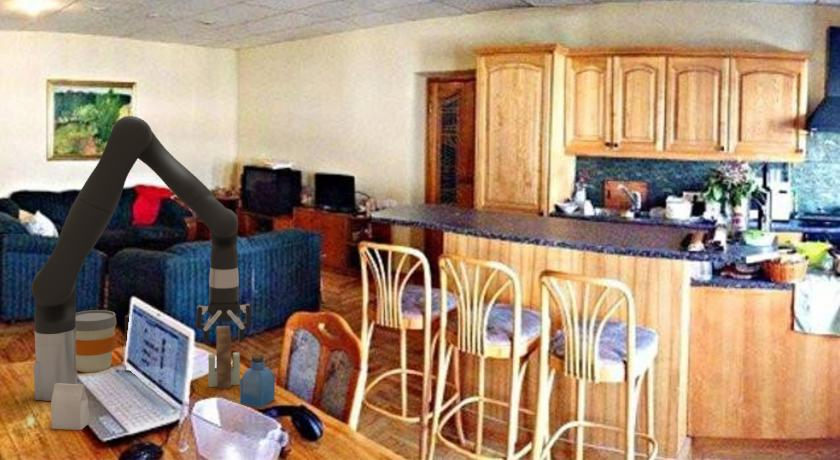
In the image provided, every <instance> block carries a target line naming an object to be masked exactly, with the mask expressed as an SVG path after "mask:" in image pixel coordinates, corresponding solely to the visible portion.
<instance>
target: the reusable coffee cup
mask: <svg viewBox="0 0 840 460" xmlns="http://www.w3.org/2000/svg"><path fill="white" fill-rule="evenodd" d="M117 324H118V323H117V317H116V313H115V312H114V311H111V310H104V309H100V310H99V309H94V310H93V309H92V310H82V311H78V312H77V311H76V320H75V326H76V327H75V328H76V360H77V372H81V373H82V372H83V373H95V372H101V371H105V370H107V369H109V368H110V367H111V364H112V358H113V356H112V355H113V350H114V349H115V345H116V336H117V335H116V331H115V330H116V325H117Z"/></svg>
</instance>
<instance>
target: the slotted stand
mask: <svg viewBox="0 0 840 460" xmlns="http://www.w3.org/2000/svg"><path fill="white" fill-rule="evenodd" d="M240 356H241V355H240V352H232V366H231V386H240V380H241V378H240V377H241V376H240V370H241V369H240V366H241V364H240V362H241V361H240V360H241V359H240ZM207 359H208V387H210V388H211V387H218V373H217V367H216V355H215V353H208V358H207Z"/></svg>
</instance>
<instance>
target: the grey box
mask: <svg viewBox="0 0 840 460" xmlns="http://www.w3.org/2000/svg"><path fill="white" fill-rule="evenodd" d="M89 414H90V413H89V398H88V394H87V392H86V388H85V384H78V383H77V384H61V383H55V384H54V390H53V395H52V400H51V401H50V415H51V416H50V419H51V420H50V421H51V425H50V426H51V429H53V430H54V429H55V430H72V431H73V430H74V431H81V430H83V429H84V428H85V427H86V426H88V425H89V424H90V421H89V420H90V416H89ZM88 423H89V424H88Z"/></svg>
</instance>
